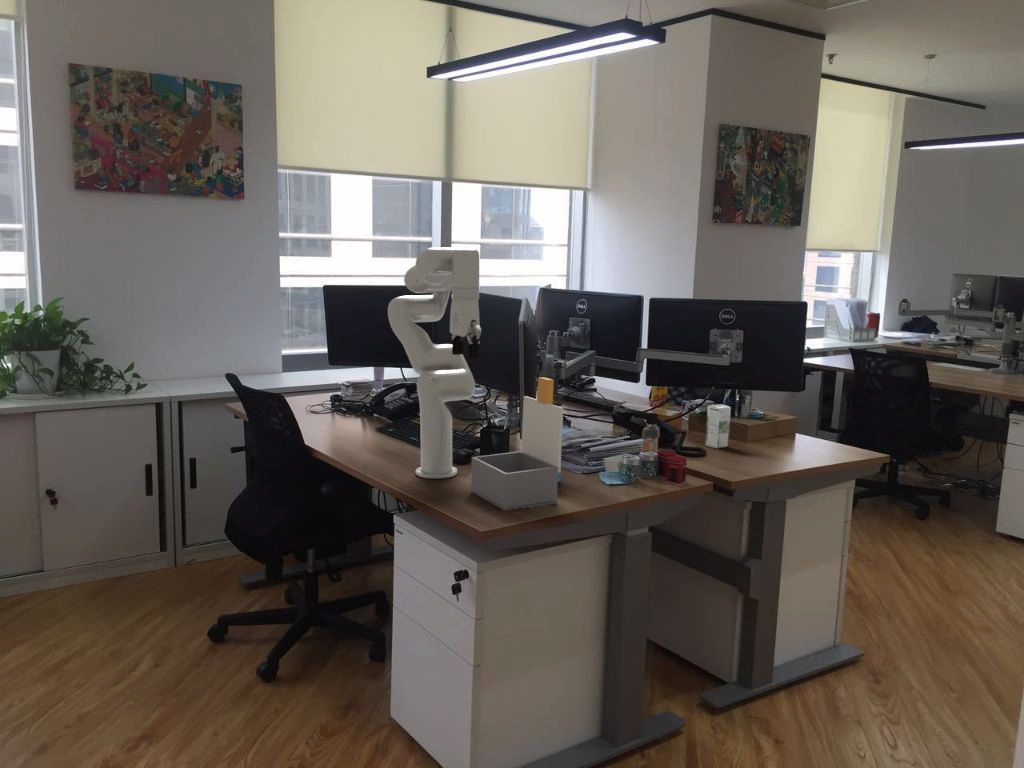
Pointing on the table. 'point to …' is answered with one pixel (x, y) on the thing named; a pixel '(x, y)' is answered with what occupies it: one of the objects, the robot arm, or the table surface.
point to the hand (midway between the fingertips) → (465, 356)
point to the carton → (514, 480)
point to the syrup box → (718, 426)
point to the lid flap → (542, 424)
